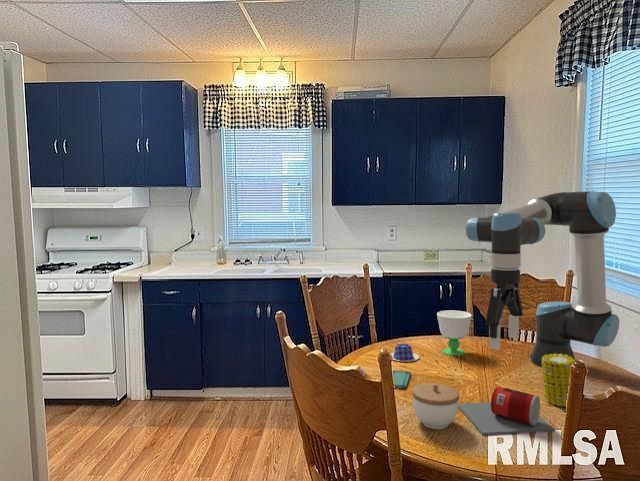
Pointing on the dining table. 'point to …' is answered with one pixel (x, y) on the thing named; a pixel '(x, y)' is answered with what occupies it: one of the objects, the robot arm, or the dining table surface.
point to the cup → (454, 329)
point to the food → (556, 377)
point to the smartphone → (401, 379)
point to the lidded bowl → (435, 404)
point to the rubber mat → (498, 421)
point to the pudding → (404, 353)
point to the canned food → (515, 405)
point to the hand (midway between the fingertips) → (504, 343)
